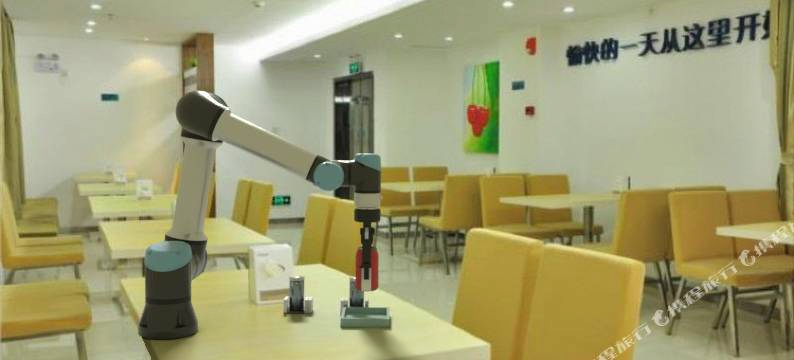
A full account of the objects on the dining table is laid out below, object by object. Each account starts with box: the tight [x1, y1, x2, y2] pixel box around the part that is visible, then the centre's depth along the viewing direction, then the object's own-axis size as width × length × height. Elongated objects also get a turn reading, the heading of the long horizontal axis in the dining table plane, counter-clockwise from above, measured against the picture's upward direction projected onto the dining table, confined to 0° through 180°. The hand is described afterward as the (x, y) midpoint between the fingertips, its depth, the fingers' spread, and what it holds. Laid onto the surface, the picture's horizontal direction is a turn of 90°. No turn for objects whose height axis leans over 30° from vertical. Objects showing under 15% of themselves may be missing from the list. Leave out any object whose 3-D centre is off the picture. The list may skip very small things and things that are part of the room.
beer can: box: [354, 246, 380, 292], centre depth 201 cm, size 7×7×12 cm
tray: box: [339, 306, 391, 328], centre depth 202 cm, size 14×14×2 cm
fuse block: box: [283, 275, 370, 315], centre depth 211 cm, size 5×25×10 cm, turn 91°
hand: (366, 287), depth 201 cm, fingers closed on beer can, 7 cm apart
